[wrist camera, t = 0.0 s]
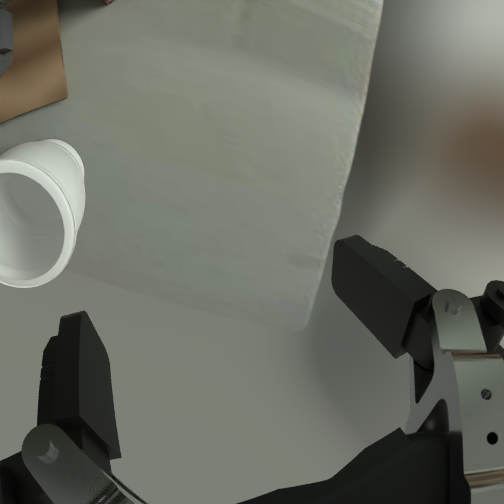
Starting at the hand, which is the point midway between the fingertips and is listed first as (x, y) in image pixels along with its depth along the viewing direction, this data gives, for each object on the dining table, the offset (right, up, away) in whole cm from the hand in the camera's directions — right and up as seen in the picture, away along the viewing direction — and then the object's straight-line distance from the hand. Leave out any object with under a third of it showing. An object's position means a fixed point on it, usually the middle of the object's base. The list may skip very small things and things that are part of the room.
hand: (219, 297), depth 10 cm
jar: (-22, +10, +21) cm, 32 cm away
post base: (-26, +22, +12) cm, 36 cm away
